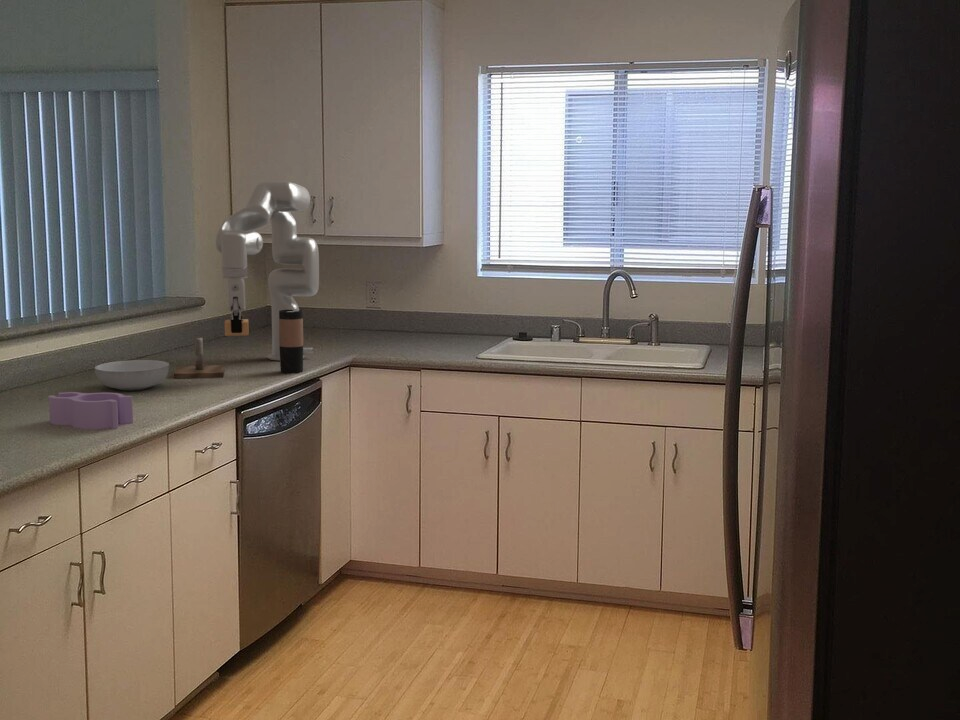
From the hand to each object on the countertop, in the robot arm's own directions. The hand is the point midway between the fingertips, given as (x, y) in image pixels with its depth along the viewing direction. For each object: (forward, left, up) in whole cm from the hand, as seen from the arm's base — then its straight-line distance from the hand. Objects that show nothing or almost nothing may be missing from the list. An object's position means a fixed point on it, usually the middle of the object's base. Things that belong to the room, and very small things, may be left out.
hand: (236, 330), depth 324 cm
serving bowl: (+30, +10, -16) cm, 35 cm away
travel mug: (-17, -13, -16) cm, 26 cm away
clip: (+35, +59, -16) cm, 70 cm away
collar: (0, 0, -1) cm, 1 cm away
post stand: (+12, -12, -15) cm, 23 cm away
